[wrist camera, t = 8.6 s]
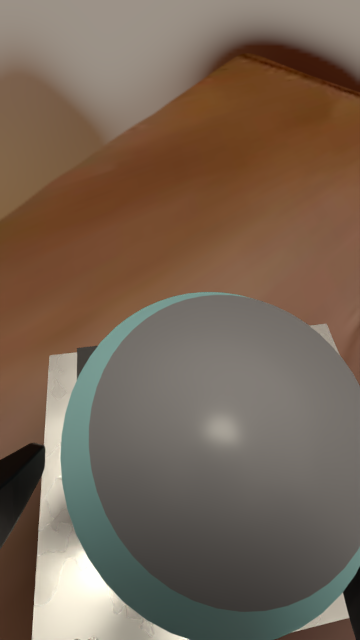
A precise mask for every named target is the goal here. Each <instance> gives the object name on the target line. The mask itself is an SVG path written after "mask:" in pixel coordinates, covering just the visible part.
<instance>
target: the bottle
mask: <svg viewBox="0 0 360 640" xmlns="http://www.w3.org/2000/svg"><path fill="white" fill-rule="evenodd" d="M60 461H61V474H62V485H63V490H64V495H65V500H66V505H67V509H68V512H69V515H70V518H71V521H72V524H73V527H74V530H75V533H76V535H77V537H78V539H79V541H80V543H81V545H82V547H83V549H84V551H85V553H86V555H87V557H88V559H89V560H90V562H91V563H92V565H93V566H94V567H95V569H96V570H97V572H98V573H99V575H100V576H101V578H102V579H103V580H104V582H105V583H106V584H107V585H108V586H109V587H110V588H111V589H112V590H113V591H114V592H115V594H116V595H117V596H118V597H119V598H120V599H121V600H122V601H123V602H124V603H125V604H127V605H128V606H129V607H130V608H132V609H133V610H134V611H136V612H137V613H138V614H139V615H141V616H142V617H143V618H145V619H146V620H147V621H149V622H151V623H153V624H155V625H157V626H159V627H160V628H162V629H164V630H166V631H168V632H170V633H172V634H175V635H178V636H181V637H184V638H187V639H190V640H274V639H278V638H280V637H282V636H284V635H287V634H289V633H291V632H293V631H295V630H298V629H300V628H302V627H303V626H305V625H306V624H308V623H309V622H310V621H312V620H313V619H315V618H316V617H318V616H319V615H321V614H322V613H323V612H324V611H325V610H326V609H327V608H328V607H329V606H330V605H331V604H332V603H333V602H334V601H335V600H336V599H337V598H338V597H339V596H340V595H341V594H342V593H343V591H344V590H345V588H346V587H347V586H348V584H349V583H350V581H351V580H352V579H353V577H354V576H355V574H356V573H357V571H358V569H359V567H360V386H359V384H358V382H357V380H356V378H355V377H354V375H353V373H352V372H351V370H350V369H349V367H348V366H347V364H346V363H345V362H344V360H343V359H342V357H341V356H340V355H339V354H338V353H337V352H336V350H335V349H334V348H333V347H332V346H331V345H330V344H329V343H328V342H327V341H326V340H325V339H324V338H323V337H322V336H321V335H320V334H319V333H318V332H316V331H315V330H314V329H313V328H311V327H310V326H309V325H307V324H306V323H305V322H303V321H302V320H300V319H299V318H297V317H295V316H294V315H292V314H290V313H288V312H286V311H284V310H282V309H280V308H278V307H276V306H274V305H271V304H268V303H265V302H263V301H259V300H255V299H252V298H248V297H244V296H240V295H235V294H228V293H219V292H200V293H189V294H184V295H179V296H174V297H171V298H168V299H164V300H161V301H158V302H156V303H154V304H152V305H149V306H147V307H145V308H143V309H141V310H140V311H138V312H136V313H135V314H133V315H132V316H130V317H128V318H127V319H126V320H124V321H123V322H122V323H121V324H119V325H118V326H117V327H116V328H114V329H113V330H112V331H111V332H110V333H109V334H108V335H107V336H106V338H105V339H104V340H103V341H102V342H101V343H100V344H99V345H98V347H97V348H96V349H95V351H94V352H93V353H92V355H91V356H90V357H89V359H88V361H87V362H86V364H85V366H84V367H83V369H82V371H81V372H80V374H79V377H78V379H77V381H76V384H75V386H74V388H73V390H72V393H71V396H70V399H69V403H68V406H67V409H66V413H65V418H64V424H63V430H62V436H61V456H60Z"/></svg>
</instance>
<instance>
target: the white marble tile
mask: <svg viewBox="0 0 360 640" xmlns="http://www.w3.org/2000/svg"><path fill="white" fill-rule="evenodd" d="M310 327H311V328H313V329H314V330H315V331H316V332H318V333H319V334H320V335H321V336H322V337H323V338H324V339H325V340H326V341H327V342H328V343H329V344H330V345H331V346H332V347H333V348H334V349H335V350H336V352H337V353H338V354H339V352H338V350H337V348H336V345H335V343H334V340H333V338H332V336H331V333H330V331H329V329H328V326H327V324H320V325H312V326H310ZM97 347H98V346H92V347H83V348H77V353H68V354H59V355H51V356H49V372H48V388H47V404H46V420H45V436H44V446H45V449H46V451H45V468H44V471H43V474H42V485H41V501H40V517H39V533H38V549H37V565H36V581H35V597H34V613H33V630H32V640H190V639H187V638H184V637H181V636H178V635H175V634H172V633H170V632H168V631H166V630H164V629H162V628H160V627H159V626H157V625H155V624H153V623H151V622H149V621H147V620H146V619H145V618H143V617H142V616H141V615H139V614H138V613H137V612H136V611H134V610H133V609H132V608H130V607H129V606H128V605H127V604H125V603H124V602H123V601H122V600H121V599H120V598H119V597H118V596H117V595H116V594H115V592H114V591H113V590H112V589H111V588H110V587H109V586H108V585H107V584H106V583H105V582H104V580H103V579H102V578H101V576H100V575H99V573H98V572H97V570H96V569H95V567H94V566H93V565H92V563H91V562H90V560H89V559H88V557H87V555H86V553H85V551H84V549H83V547H82V545H81V543H80V541H79V539H78V537H77V535H76V533H75V530H74V527H73V524H72V521H71V518H70V515H69V512H68V509H67V505H66V500H65V495H64V490H63V485H62V474H61V461H60V456H61V436H62V430H63V424H64V418H65V413H66V409H67V406H68V403H69V399H70V396H71V393H72V390H73V388H74V386H75V384H76V381H77V379H78V377H79V374H80V372H81V371H82V369H83V367H84V366H85V364H86V362H87V361H88V359H89V357H90V356H91V355H92V353H93V352H94V351H95V349H96V348H97ZM346 618H349V615H348V611H347V608H346V604H345V600H344V595H343V593H342V594H341V595H340V596H339V597H338V598H337V599H336V600H335V601H334V602H333V603H332V604H331V605H330V606H329V607H328V608H327V609H326V610H325V611H324V612H323V613H322V614H321V615H319V616H318V617H316V618H315V619H313V620H312V621H310V622H309V623H308V624H306V625H305V626H303V627H302V628H300V629H298V630H295V631H299V630H303V629H307V628H311V627H315V626H319V625H323V624H327V623H331V622H334V621H338V620H342V619H346ZM295 631H293V632H295Z"/></svg>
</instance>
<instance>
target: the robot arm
mask: <svg viewBox="0 0 360 640" xmlns="http://www.w3.org/2000/svg"><path fill="white" fill-rule="evenodd" d="M45 451H46V449H45V446H44V445H41V444H36V443H30V444H28V445H26V446H25V447H23V448H21V449H19V450H17V451H16V452H14V453H12V454H10V455H8V456H7V457H5V458H3V459H1V460H0V549H1V547H2V546H3V544H4V542H5V541H6V539H7V538H8V536H9V535H10V533H11V531H12V530H13V528H14V526H15V524H16V523H17V521H18V519H19V517H20V515H21V513H22V511H23V510H24V508H25V506H26V504H27V502H28V500H29V498H30V496H31V495H32V493H33V491H34V489H35V487H36V485H37V483H38V481H39V480H40V478H41V476H42V474H43V471H44V468H45ZM343 595H344V600H345V604H346V608H347V611H348V615H349V618H350V621H351V625H352V628H353V631H354V634H355V638H356V640H360V567H359V569H358V571H357V573H356V574H355V576H354V577H353V579H352V580H351V581H350V583H349V584H348V586H347V587H346V588H345V590H344V591H343Z"/></svg>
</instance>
